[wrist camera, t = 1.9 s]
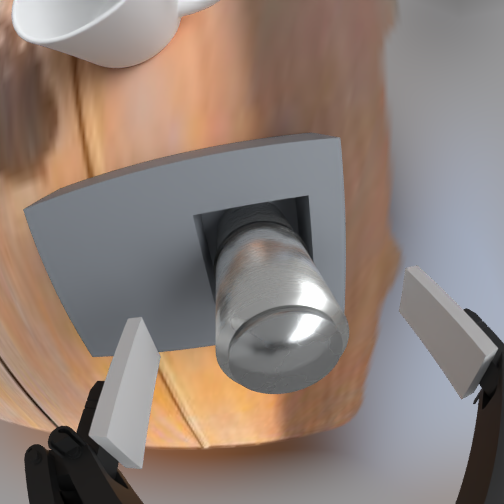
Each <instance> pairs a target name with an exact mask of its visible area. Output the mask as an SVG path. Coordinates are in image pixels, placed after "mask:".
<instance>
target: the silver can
mask: <svg viewBox="0 0 504 504" xmlns="http://www.w3.org/2000/svg"><path fill="white" fill-rule="evenodd" d="M213 269H214V279H215V282H216V357H217V361H218V364H219V366H220V368H221V369H222V370H223V372H224V373H225V374H226V375H227V376H228V377H229V378H231V379H232V380H233V381H235V382H237V383H239V384H241V385H242V386H244V387H246V388H248V389H250V390H253V391H256V392H260V393H266V394H282V393H289V392H294V391H298V390H301V389H304V388H306V387H308V386H310V385H312V384H314V383H316V382H318V381H319V380H321V379H322V378H323V377H325V376H326V375H327V374H328V373H329V372H330V371H331V370H332V369H333V368H334V367H335V365H336V364H337V362H338V360H339V358H340V357H341V355H342V354H343V352H344V350H345V348H346V345H347V342H348V338H349V326H348V322H347V319H346V317H345V315H344V313H343V311H342V310H341V308H340V306H339V304H338V303H337V301H336V299H335V298H334V296H333V294H332V293H331V291H330V289H329V287H328V286H327V284H326V282H325V281H324V279H323V277H322V276H321V274H320V272H319V271H318V269H317V267H316V266H315V264H314V262H313V261H312V259H311V258H310V255H309V251H308V249H307V247H306V245H305V243H304V242H303V240H302V239H301V237H300V236H299V235H298V234H297V233H296V232H295V231H294V230H293V229H292V227H291V225H290V224H289V222H288V221H287V219H286V218H285V216H284V215H283V213H282V212H281V211H280V210H279V208H277V207H276V206H275V205H273V204H272V203H269V202H263V203H257V204H251V205H245V206H240V207H234V208H229V209H228V210H227V211H226V212H225V213H224V214H223V216H222V217H221V219H220V221H219V224H218V227H217V245H216V254H215V257H214V267H213Z"/></svg>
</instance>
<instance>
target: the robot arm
mask: <svg viewBox="0 0 504 504" xmlns="http://www.w3.org/2000/svg"><path fill="white" fill-rule="evenodd" d="M399 312H400V313H401V314H402V316H403V317H404V318H405V319H406V321H407V322H408V324H409V325H410V326H411V328H412V329H413V330H414V332H415V333H416V334H417V336H418V337H419V338H420V340H421V341H422V342H423V344H424V345H425V346H426V348H427V349H428V351H429V352H430V354H431V355H432V356H433V358H434V359H435V361H436V362H437V363H438V365H439V366H440V368H441V369H442V371H443V372H444V374H445V375H446V377H447V378H448V380H449V381H450V383H451V384H452V386H453V387H454V389H455V390H456V392H457V393H458V395H459V396H460V398H461V399H463V398H465V397H467V396H468V395H470V394H472V393H474V391H475V389H476V388H477V386H478V384H480V386H481V387H482V389H481V390H480V392H479V394H478V395H477V397H476V398H475V400H474V403H473V404H475V403H476V402H477V400H478V399H479V403H478V412H477V419H476V425H475V431H474V437H473V442H472V447H471V451H470V456H469V460H468V464H467V468H466V472H465V475H464V479H463V482H462V485H461V489H460V492H459V495H458V498H457V501H456V504H504V343H503V342H502V341H501V340H500V339H499V338H498V337H497V335H496V334H495V333H494V332H493V331H492V330H491V329H490V328H489V327H487V325H486V324H485V323H484V322H482V319H481V318H480V317H479V316H478V315H477V314H476V313H474V312H472V311H471V310H469V309H464V310H463V309H462V308H461V307H460V306H459V305H457V303H456V302H455V301H454V300H453V299H452V298H451V297H450V296H449V295H448V294H446V292H445V291H444V290H443V289H442V288H441V287H440V286H439V285H438V284H437V283H435V282H434V281H433V280H432V279H431V278H430V277H429V276H428V275H427V274H426V273H425V272H424V271H423V270H422V269H421V268H419V267H418V266H413V267H409V268H406V269H405V276H404V284H403V291H402V297H401V303H400V309H399ZM159 362H160V355H159V353H158V351H157V349H156V346H155V344H154V342H153V340H152V338H151V336H150V334H149V332H148V330H147V327H146V325H145V323H144V321H143V318H142V317H137V318H128V320H127V322H126V325H125V327H124V330H123V332H122V335H121V338H120V340H119V343H118V346H117V348H116V351H115V354H114V357H113V359H112V362H111V365H110V368H109V371H108V374H107V377H106V380H105V381H97V382H96V383H95V385H94V386H93V387H92V389H91V390H90V393H89V396H88V398H87V400H88V401H86V404H85V409H84V410H83V413H82V416H81V420H80V423H79V426H78V429H77V433H76V432H75V431H74V430H73V429H72V428H70V427H68V426H60V427H57V428H56V429H55V430H53V431H52V433H51V434H50V436H49V439H48V446H49V448H50V449H51V450H46V449H45V448H44V447H43V446H41V445H39V444H35V445H32V446H31V447H29V448H28V450H27V451H26V453H25V459H24V461H25V473H26V482H27V490H28V497H29V503H30V504H143V502H142V501H141V500H140V498H139V497H138V496H137V494H136V493H135V492H134V490H133V489H132V487H131V486H130V485H129V483H128V482H127V480H126V479H125V477H124V476H123V474H122V473H121V472H120V471H119V469H118V468H117V467H118V462H119V463H121V464H122V465H123V466H124V467H126V468H138V469H142V465H143V457H144V450H145V443H146V436H147V429H148V423H149V417H150V411H151V405H152V399H153V393H154V388H155V382H156V377H157V372H158V367H159Z"/></svg>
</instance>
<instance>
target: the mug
mask: <svg viewBox="0 0 504 504" xmlns="http://www.w3.org/2000/svg"><path fill="white" fill-rule="evenodd" d="M219 1H220V0H14V1H13V6H12V23H13V26H14V29H15V31H16V32H17V34H18V35H19V36H20V37H21V38H22V39H24V40H25V41H27V42H30V43H33V44H37V45H40V46H43V47H47V48H50V49H53V50H56V51H59V52H63V53H66V54H69V55H71V56H74V57H77V58H80V59H83V60H86V61H88V62H91V63H94V64H96V65H100V66H103V67H108V68H124V67H130V66H134V65H137V64H140V63H142V62H144V61H146V60H148V59H150V58H152V57H153V56H155V55H156V54H157V53H159V52H160V51H161V50H162V49H163V48H165V47H166V45H167V44H168V43H169V42H170V41H171V39H172V38H173V37H174V35H175V33H176V32H177V29H178V27H179V25H180V21H181V17H183V16H186V15H190V14H193V13H196V12H199V11H201V10H204V9H206V8H209V7H211V6H212V5H214V4H216V3H217V2H219Z"/></svg>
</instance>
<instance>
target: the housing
mask: <svg viewBox="0 0 504 504" xmlns="http://www.w3.org/2000/svg"><path fill="white" fill-rule="evenodd" d="M263 202H269V203H272V204H273V205H275V206H276V207H277V208H279V210H280V211H281V212H282V213H283V215H284V216H285V218H286V219H287V221H288V222H289V224H290V225H291V227H292V229H293V230H294V231H295V232H296V233H297V234H298V235H299V236H300V237H301V239H302V240H303V242H304V243H305V245H306V247H307V249H308V251H309V255H310V258H311V259H312V261H313V262H314V264H315V266H316V267H317V269H318V271H319V272H320V274H321V276H322V277H323V279H324V281H325V282H326V284H327V286H328V287H329V289H330V291H331V293H332V294H333V296H334V298H335V299H336V301H337V303H338V304H339V306H340V308H341V310H342V311H343V313H344V307H345V273H346V234H345V200H344V181H343V166H342V153H341V142H340V138H339V137H334V136H328V135H322V134H316V133H303V134H294V135H285V136H277V137H269V138H262V139H255V140H249V141H242V142H236V143H230V144H225V145H219V146H214V147H209V148H204V149H199V150H194V151H189V152H185V153H180V154H176V155H171V156H167V157H163V158H159V159H155V160H151V161H147V162H143V163H139V164H136V165H132V166H129V167H125V168H121V169H118V170H115V171H111V172H108V173H105V174H102V175H98V176H95V177H92V178H89V179H86V180H83V181H80V182H77V183H74V184H71V185H69V186H66V187H63V188H60V189H58V190H57V191H55V192H53V193H51V194H49V195H47V196H46V197H44V198H42V199H40V200H39V201H37V202H35V203H34V204H32V205H30V206H28V207H27V208H25V209H24V213H25V216H26V219H27V222H28V225H29V228H30V231H31V234H32V236H33V239H34V242H35V244H36V247H37V250H38V252H39V255H40V257H41V259H42V262H43V264H44V266H45V269H46V271H47V273H48V276H49V278H50V280H51V282H52V284H53V286H54V288H55V291H56V293H57V295H58V297H59V299H60V301H61V303H62V305H63V307H64V309H65V310H66V312H67V314H68V316H69V318H70V320H71V322H72V323H73V325H74V327H75V329H76V330H77V332H78V334H79V336H80V337H81V339H82V341H83V342H84V344H85V346H86V347H87V349H88V351H89V352H90V354H91V355H92V357H103V356H114V354H115V351H116V348H117V346H118V343H119V340H120V338H121V335H122V332H123V330H124V327H125V325H126V322H127V320H128V318H137V317H142V318H143V321H144V323H145V325H146V327H147V330H148V332H149V334H150V336H151V338H152V340H153V342H154V344H155V346H156V349H157V351H158V352H165V351H174V350H182V349H190V348H198V347H205V346H212V345H216V282H215V279H214V269H213V267H214V257H215V254H216V245H217V227H218V224H219V221H220V219H221V217H222V216H223V214H224V213H225V212H226V211H227V210H228V209H229V208H234V207H240V206H245V205H251V204H257V203H263Z"/></svg>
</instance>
